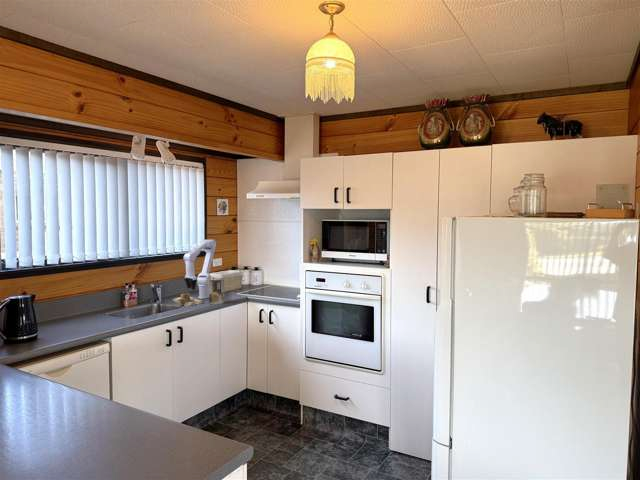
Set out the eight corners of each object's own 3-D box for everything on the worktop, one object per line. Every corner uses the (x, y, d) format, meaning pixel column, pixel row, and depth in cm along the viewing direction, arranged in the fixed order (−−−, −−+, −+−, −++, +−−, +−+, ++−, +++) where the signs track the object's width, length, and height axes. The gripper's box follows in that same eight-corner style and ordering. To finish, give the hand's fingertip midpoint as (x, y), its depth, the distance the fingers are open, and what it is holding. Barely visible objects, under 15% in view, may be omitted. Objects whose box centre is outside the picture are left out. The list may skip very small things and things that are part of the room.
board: (189, 298, 331) (189, 296, 330) (202, 303, 312) (202, 300, 312) (173, 301, 323) (173, 298, 323) (185, 306, 304) (185, 303, 304)
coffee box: (225, 302, 314) (224, 279, 313) (222, 304, 308) (221, 280, 307) (212, 302, 315) (211, 279, 314) (209, 304, 309) (208, 281, 308)
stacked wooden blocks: (192, 302, 315) (192, 292, 315) (195, 303, 311) (195, 293, 311) (178, 304, 309) (177, 294, 308) (181, 305, 305) (180, 295, 304)
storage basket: (229, 287, 377) (229, 269, 376) (244, 288, 368) (243, 270, 367) (208, 291, 357) (207, 273, 356) (223, 293, 348) (222, 274, 347)
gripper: (180, 269, 320) (181, 288, 321) (188, 271, 309) (189, 290, 310) (190, 268, 325) (191, 287, 326) (198, 270, 313) (199, 289, 314)
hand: (191, 288), depth 318 cm, fingers open, 7 cm apart
